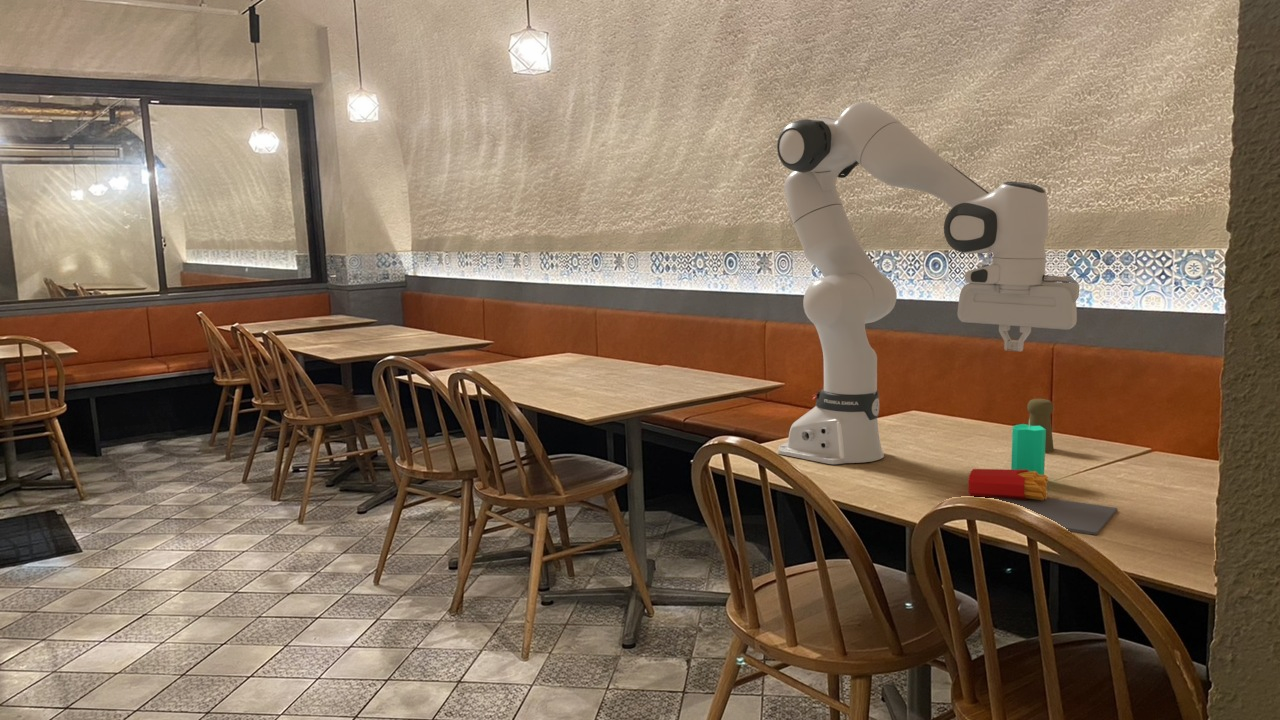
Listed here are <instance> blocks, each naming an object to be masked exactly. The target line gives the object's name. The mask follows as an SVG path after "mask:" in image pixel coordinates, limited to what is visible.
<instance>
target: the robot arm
mask: <svg viewBox="0 0 1280 720" xmlns="http://www.w3.org/2000/svg"><path fill="white" fill-rule="evenodd" d="M776 144H777V145H776V150H777V151H776V152H777V157H778V158H779V160H780V162H781V164H782V165H783V166H784V167H785V168H787V169H788V170H791V171H792V172H791V173H789V175H788V176H787V177H786V179H785V181H784V184H783V187H784V196H785V200H786V205H787V210H788V213H789V215H790V219H791V222H792V224H793V227H794V230H795V232H796V235H797V237H798V240H799V243H800V245H801V248H802V250H803V253H804V256H805V257H806V259H807V260H808V261H809V263H811V264H812V265H813V266H815V267H816V268H817V269H818V270H819V271H820V272H821V274H822V275H823V276H824V277H822V278H820V279H818V280H816V281H814V282H812V283H810V284H809V286H808V287H807V289H806V290H805V292H804V295H803V300H802V302H803V303H802V304H803V306H802V307H803V311H804V314H805V316H806V317H807V318H808V320H809V321H810V322H811V323H812V324H813V326H814V327H815V329H816V332H817V335H818V338H819V341H820V346H821V350H822V356H823V388H822V389H821V390H819V391H817V392H816V393H814V394H812V396H813V398H812V400H813V401H814V400H815V406H814V407H813V408H811V409H810V410H809V411H807V412H806V413H804V414H803V415H801V417H799V418H798V419H796V420H795V421H794V422H793V423H792V424H791V426H790V429H789V432H788V440H787V441H786V442H784V443H782V444H780V445H779V446H778V448H777V454H778V455H784V456H788V457H793V458H799V459H802V460H806V461H807V460H808V461H811V462H818V463H822V464H828V465H842V464H843V465H844V464H855V463H856V464H859V463H868V462H876V461H879V460H881V459H883V458H884V456H885V455H884V451H883V448H882V445H881V440H880V439H881V438H880V432H879V423H878V417H879V411H880V392H879V390H878V388H877V387H878V355H877V353H876V350H875V349H874V348H872V346H871V344H870V342H869V339H868V336H867V331H866V324H870V323H874V322H877V321H879V320H881V319H883V318H884V317H886V316H887V315H889V314H890V313H891V312H892V310H894V308H895V305H896V304H897V303H896V302H897V298H898V295H897V290H896V286H895V285H894V283H893V282H892V281H891V279H890V278H888V277H887V276H886V275H884V274H883V273H882V272H881V270H879V269H878V268H877V267H876V264H874V262H873V261H872V260H871V259H870V256H869V255H868V254H867V252H866V251H865V249H863V247H862V245H861V243H860V242H859V240H858V239H857V236H856V235H855V232H854V230H853V226H852V224H851V222H850V220H849V217H848V215H847V213H846V210H845V208H844V205H843V203H842V200H841V198H840V195H839V194H838V190H837V184H836V183H837V179H840V178H841V179H842V178H843V179H844V178H847V177H848V176H849V175H850V174H851V172H852V171H853V170H854V169H855V168H856V167H857V166H859V165H860V166H861V167H862V168H863V169H864V170H865V171H866V172H868V174H870V175H871V176H872V177H874V178H876V179H877V180H879V181H881V182H882V183H884V184H886V185H888V186H890V187H895V188H900V189H907V190H914V191H917V192H918V191H919V192H923V193H927V194H928V195H931V196H934V197H936V198H938V199H940V200H941V201H942V202H944V203H945V204H947V205H948V206H949V207H951V209H950V210H949V212H948V213H947V214H946V216H945V219H944V221H943V222H944V223H943V234H944V237H945V241H946V242H947V244H948V246H949V247H950V248H952V249H953V250H954V251H956V252H959V253H963V254H968V255H969V254H971V255H972V254H992V256H993V257H992V263H991V264H987V265H986V264H985V265H983V266H981V267H978V268H974V269H970V270H967V271H966V272H965V274H964V281H965V283H967V284H965V285H963V287H962V288H961V290H960V293H959V297H958V298H959V299H958V304H957V313H956V314H957V318H958V320H959V321H960V322H961V323H968V324H969V323H970V324H971V323H973V324H982V325H983V324H984V325H985V324H986V325H997V326H998V333H999V334H1000V336H1001V338H1002V340H1003V341H1004V344H1003V349H1004V351H1009V352H1010V351H1011V352H1012V351H1013V352H1023V350H1024V346H1025V345H1024V342H1025V341H1026V340H1027V338H1028V337H1029V335H1030V334H1031V333H1032V328H1037V329H1039V328H1041V329H1052V330H1062V331H1063V330H1064V331H1065V330H1066V331H1067V330H1071V329H1073V328H1074V327H1075V326H1076V324H1077V321H1078V319H1077V318H1078V316H1077V315H1078V313H1077V311H1078V309H1077V300H1078V299H1079V296H1080V285H1079V283H1078V282H1077V280H1075V279H1073V278H1072V277H1071V276H1069V275H1062V276H1058V275H1051V274H1046V262H1047V261H1046V260H1047V254H1046V251H1045V242H1046V238H1047V235H1048V229H1049V202H1048V201H1049V200H1048V196H1047V192H1046V191H1045V189H1043V187H1042V186H1039V185H1036V184H1032V183H1029V182H1028V183H1027V182H1019V181H1006V182H1003V183H1001V184H1000V185H999V186H998V187H997V188H996V189H994V190H992V191H990V192H989V191H988V190H986V189H985V188H983V187H982V186H981V185H980V184H978V183H977V182H975V181H974V180H972V179H971V178H970V177H969V176H967V175H965V173H963V172H961V171H960V170H959V169H958V168H956V167H955V166H953V165H952V164H950V163H949V162H948V161H946V160H945V159H944V158H943V157H942V156H940V155H939V154H938V153H937V152H935V151H934V150H933V149H932V148H930V147H929V145H927V144H926V143H925V142H924V141H923V140H921V139H920V137H918V136H917V135H916V134H915V133H914V132H913V131H911V130H910V129H909V128H908V127H907V126H905V125H904V124H903V123H902V122H900V121H899V120H898V119H897V118H896V117H894V116H893V115H892V114H890V113H888V112H887V111H885V110H884V109H882V108H881V107H879V106H877V105H875V104H873V103H871V102H868V101H857V102H854V103H852V104H850V105H848V106H847V107H846V108H845V109H844V110H843V111H842V112H841V114H840V115H839V116H838V117H832V116H827V117H823V116H822V117H819V118H812V119H809V118H808V119H807V118H806V119H799V120H796V121H793V122H791V123H788V124H787V125H785V126H784V128H783V129H782V130H781V132H780V133H779V135H778V138H777V142H776ZM1011 327H1019V333H1022V334H1021V335H1020V336H1019V338H1018V339H1012V338H1011V337H1010V334H1009V331H1010V330H1011Z"/></svg>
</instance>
